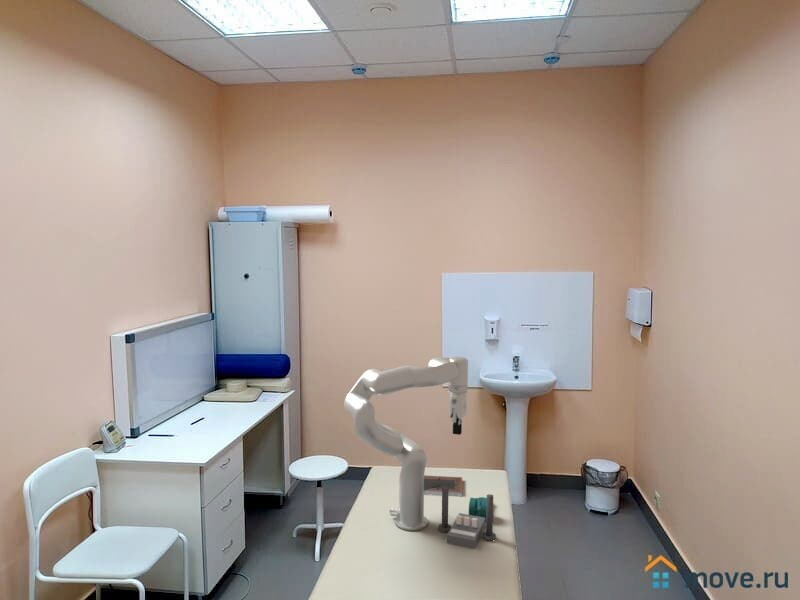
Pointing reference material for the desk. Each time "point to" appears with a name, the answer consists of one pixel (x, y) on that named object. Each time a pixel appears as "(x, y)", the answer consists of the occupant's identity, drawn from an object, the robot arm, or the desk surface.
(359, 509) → the desk surface
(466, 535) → the breaker panel
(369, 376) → the robot arm
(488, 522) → the post right
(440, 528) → the post left
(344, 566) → the desk surface
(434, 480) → the picture frame
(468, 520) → the breaker bank
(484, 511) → the teal block
